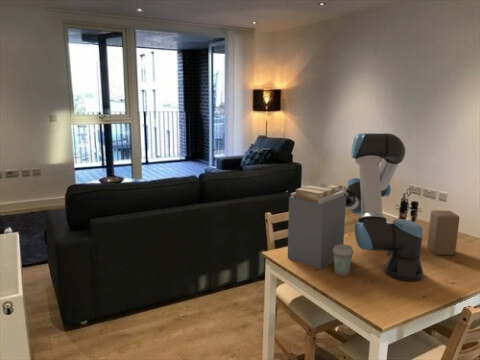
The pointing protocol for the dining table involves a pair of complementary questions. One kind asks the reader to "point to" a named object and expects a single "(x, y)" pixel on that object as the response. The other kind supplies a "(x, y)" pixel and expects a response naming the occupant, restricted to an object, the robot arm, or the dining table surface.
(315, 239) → the charcoal plinth
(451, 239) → the wooden block
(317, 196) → the oak board
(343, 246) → the coffee cup
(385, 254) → the dining table surface
